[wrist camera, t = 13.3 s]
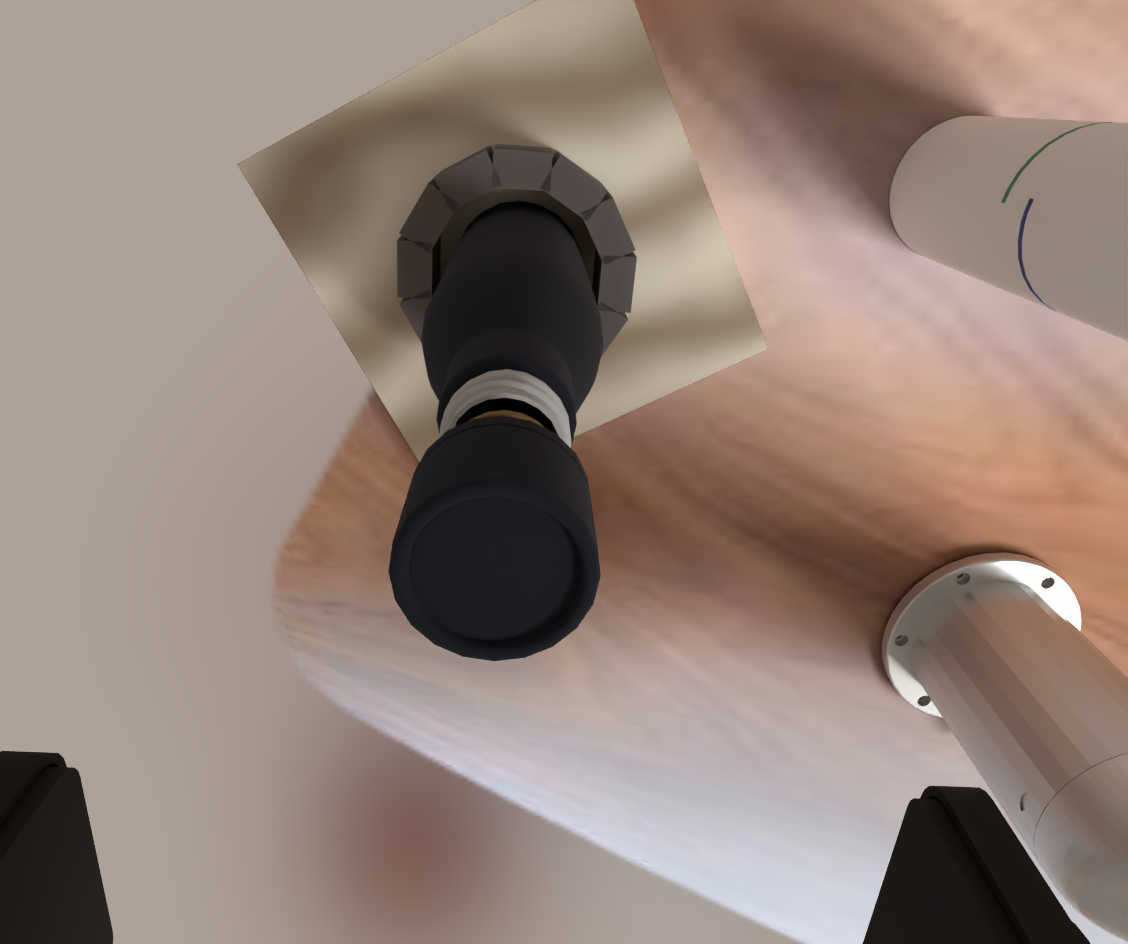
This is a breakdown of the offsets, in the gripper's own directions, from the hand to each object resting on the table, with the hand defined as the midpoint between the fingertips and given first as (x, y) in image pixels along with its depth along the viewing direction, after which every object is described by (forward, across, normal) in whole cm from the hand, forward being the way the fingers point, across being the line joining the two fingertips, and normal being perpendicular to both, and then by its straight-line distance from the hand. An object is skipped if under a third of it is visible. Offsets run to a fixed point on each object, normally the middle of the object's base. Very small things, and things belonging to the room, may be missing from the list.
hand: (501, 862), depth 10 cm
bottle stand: (+38, +1, 0) cm, 38 cm away
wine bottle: (+36, +1, 0) cm, 36 cm away
